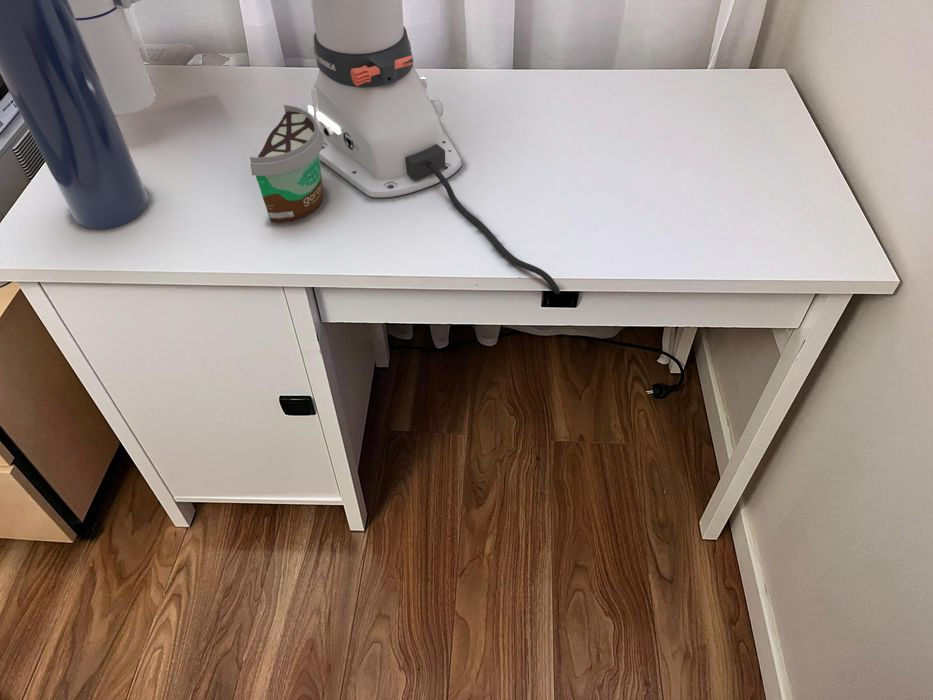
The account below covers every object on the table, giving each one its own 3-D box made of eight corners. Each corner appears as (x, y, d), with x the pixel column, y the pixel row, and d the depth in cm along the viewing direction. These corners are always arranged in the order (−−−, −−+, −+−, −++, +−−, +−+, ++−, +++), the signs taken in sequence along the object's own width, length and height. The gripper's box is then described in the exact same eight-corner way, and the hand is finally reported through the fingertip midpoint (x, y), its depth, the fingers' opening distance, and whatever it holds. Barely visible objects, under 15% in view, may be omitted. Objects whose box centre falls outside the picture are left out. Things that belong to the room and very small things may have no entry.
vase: (156, 213, 91) (25, -115, 64) (82, 238, 88) (-90, -96, 61) (137, 177, 96) (8, -142, 69) (66, 198, 93) (-99, -126, 66)
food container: (315, 235, 88) (300, 165, 81) (266, 230, 89) (247, 160, 81) (344, 176, 96) (333, 107, 89) (299, 171, 97) (285, 102, 89)
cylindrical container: (100, 119, 96) (4, -94, 77) (101, 92, 100) (9, -115, 81) (157, 108, 97) (75, -103, 78) (154, 82, 101) (77, -124, 82)
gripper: (26, -68, 94) (-17, -23, 85) (186, -71, 94) (160, -26, 85) (48, -17, 99) (9, 30, 90) (200, -20, 99) (176, 27, 90)
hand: (84, 3), depth 88 cm, fingers closed on cylindrical container, 7 cm apart
